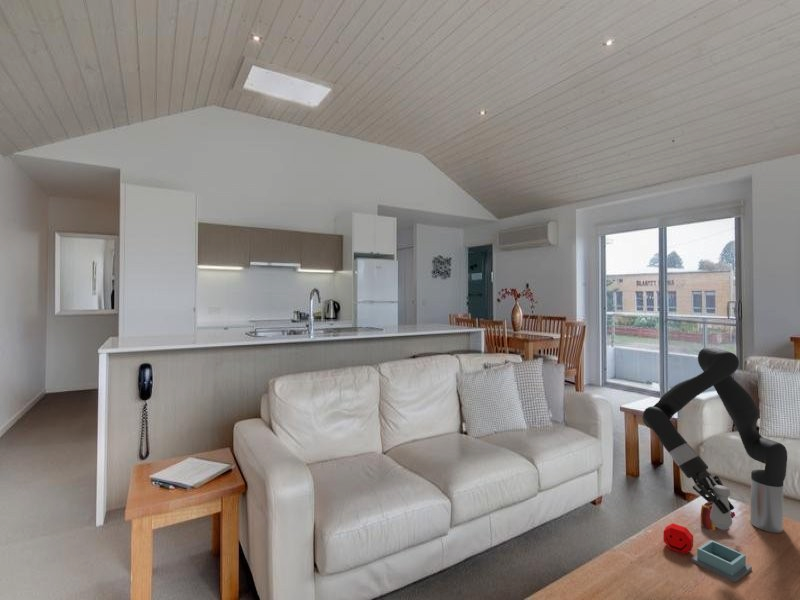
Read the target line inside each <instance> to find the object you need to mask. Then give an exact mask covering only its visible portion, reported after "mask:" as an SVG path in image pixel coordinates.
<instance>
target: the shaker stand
mask: <svg viewBox="0 0 800 600" xmlns="http://www.w3.org/2000/svg"><path fill="white" fill-rule="evenodd" d="M696 551H697V553H696V554H695V555H694V556H692V557H691V562H692V563H694V564H696V565H698V566H700V567H702V568H704V569H706V570H708V571H710V572H712V573H715V574H716V575H718V576H720V577H722V578H724V579H727V580H728V581H730V582H732V583H737V582H738V581H739V580H740V579H742V578H743V577H745V576H746V575H747V574H748V573H750V572H751V571H752V568H753V566H751V565H748V564H747V562H746V560H747V556H746V554H744V553H742V552H739V551H737V550H735V549H733V548H731V547H728V546H726V545H723V544H722V543H719V542H717V541H715V540H712V539H710V540H708V541H707V542H706V543H704V544H702V545H700V546H699V547H697V550H696Z"/></svg>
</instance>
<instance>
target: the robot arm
mask: <svg viewBox="0 0 800 600" xmlns="http://www.w3.org/2000/svg"><path fill="white" fill-rule="evenodd" d="M697 362H698V365H699V367H700V368H701V370H702V372H701V373H699V374H698V375H696V376H694V377H691V378H688V379H686V380H684V381H681V382H679V383H676V385H673V386H672V387H671V388H670V389H669V390H668V391H666V392H665V393H664V394H663V395H662V396H661V397H660V398H659V400H658V402H657V403H655V404H654V405H653V406H648V407H646V408H645V409H644V411H643V413H642V421H643V423H644V426H646V427H647V428H649V429H650V430H653V432H654V433H655V435H656V436H657V437H658V440H659V442H660V443H661V445H662V446H663V448H664V449H665V450H666V451H667V453H669V455H670V457H671V459H672V460H673V462H674V463H675V464H676V465H677V466H678V467H679V469H680V470H681V472H683V474H684V475H685V476H686V478H688V479H690V478H692V480H693V482H694V485H692V489H693V490H694V491H696V493H698V494H699V495H700V496H701V497H702V498H703V499H705V500H706V501H707V502H710V501H711V502H714V503H715V505H716V506H717V507H718V509H719V510H720V511H721V512H722V513H723V514H725V513H727V512H729V509H728V508H727V507H726V506H725V504H724V503H723V502H722V501H721V500H720V498H719V497H718V495H717V494H716V493H715V490H714V486H715V485H722V486H724V485H723V483H722V480H721V479H720V477H719V476H718V475H714V476H713V475H712V474H711V473H710V472H708V471H707V470H708V469H709V466H708V465H707V464H706V462H705V461H704V460H703V458H701V456H700V455H699V454H698V452H696V450H695V449H694V448H693V447H692V446H691V445H690V444H689V443H688V442H687V441H686V440H685V438H684V437H683V436H682V435H681V433H680V432H678V430H677V428H676V427H675V425H674V424H673V423H672V420H671V419H672V418H673V417H674V415H676V414H677V413H678V412H680V411H681V410H682V409H683V408H684V407H686V406H687V405H688V404H689V403H690V402H691V401H692V400H694V399H695V398H696V397H698V396H699V395H700V394H702V393H703V392H705V391H707V390H708V389H710V388H712V387H714V389H715V391H716V393H717V395H718V397H719V399H720V401H721V402H722V405H723V406H724V408H725V410H726V412H727V414H728V415H729V418H730V419H731V421H732V422H733V424H734V426H735V428H736V430H737V432H738V435H739V437H740V439H741V442H742V445H743V447H744V450H745V451H746V454H747V455H748V457H750V458H751V459H752V460H755V461H757V462H759V463H762V464H764V469H753V470H752V471H751V472H750V473H751V476H750V517H749V518H750V520H749V521H750V523H751V525H752V526H754V527H756V528H757V529H760V530H762V531H765V532H768V533H769V532H770V533H773V534H776V533H777V534H778V533H779V534H780V533H782V532H783V526H784V521H783V520H784V481H785V479H786V476H787V468H788V467H787V465H788V464H787V463H788V451H787V448H786V446H785V445H784V444H783V443H781V442H777V441H775V440H771V439H768V438H765V437H763V436H762V435H761V434H760V432H759V431H758V429H757V427H756V425H757V422H758V421H759V417H760V411H759V408H758V406H757V405H756V404H757V403H756V402H755V401H754V399H753V397H752V396H751V394H750V392H748V391H747V390H746V389H745V388H744V387H743V386H742V384H740V383H738V381H736V379H735V378H734V377H732V375H733V374H734V373H735V372H736V371H737V370H738V367H739V365H740V359H739V358H738V356H737V354H735V353H734V352H731V351H729V350H725V349H720V348H717V347H710V346H708V347H703V348H702V349H700V351H699V352H698V354H697ZM705 500H704V501H705ZM728 501H729V506H730V512H732V511H733V510H734V509H735V506H734V505H733V504H732V502H730V500H729V499H728Z"/></svg>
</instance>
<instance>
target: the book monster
mask: <svg viewBox="0 0 800 600" xmlns="http://www.w3.org/2000/svg"><path fill="white" fill-rule="evenodd" d="M712 505H713V502H711V501H710V502H708V501H707V502H705V503H704V504H702V505H701V509H700V526H702V527H703V528H705V529H707V530H709V531H712V532H713V531H716V530H717V529H719V528H717V527H715V526H714V525H713V523H712V521H711V519H710V513H711V509H712ZM730 512H731V517H732V519H734V518H735V516H736V514H735V512H734V511H730ZM730 528H731V526H730V527H729V528H728V529H730Z"/></svg>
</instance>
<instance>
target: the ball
mask: <svg viewBox="0 0 800 600" xmlns="http://www.w3.org/2000/svg"><path fill="white" fill-rule="evenodd" d="M662 538H663V543H665V545H666V546H667V548H669V550H670V549H671V550H670V551H673V552H676V553H679V554H681V555H684V554H687V553H690V552H691V551H692V550H693V547H694V535H693V534H692V533H691V531H689V529H688V528H687V527H686V526H684V525H683V526H682V525H680V524H676V523H670V524H669V525H667V526H665V528H664V530H663V537H662Z"/></svg>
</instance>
